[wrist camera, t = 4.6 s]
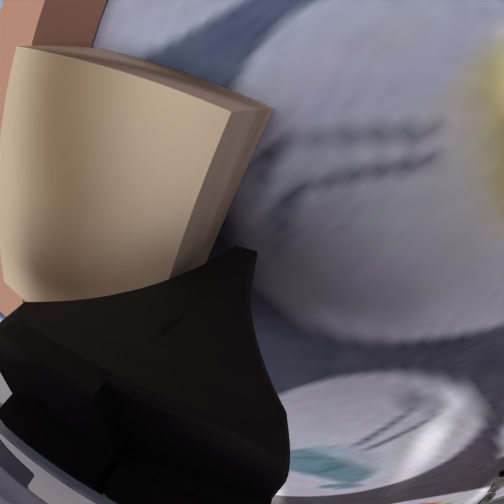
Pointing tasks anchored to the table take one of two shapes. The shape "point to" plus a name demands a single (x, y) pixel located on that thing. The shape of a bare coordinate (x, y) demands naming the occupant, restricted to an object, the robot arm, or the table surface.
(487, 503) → the driftwood
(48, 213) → the beech block
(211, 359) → the robot arm
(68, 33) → the terracotta batten
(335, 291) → the table surface
